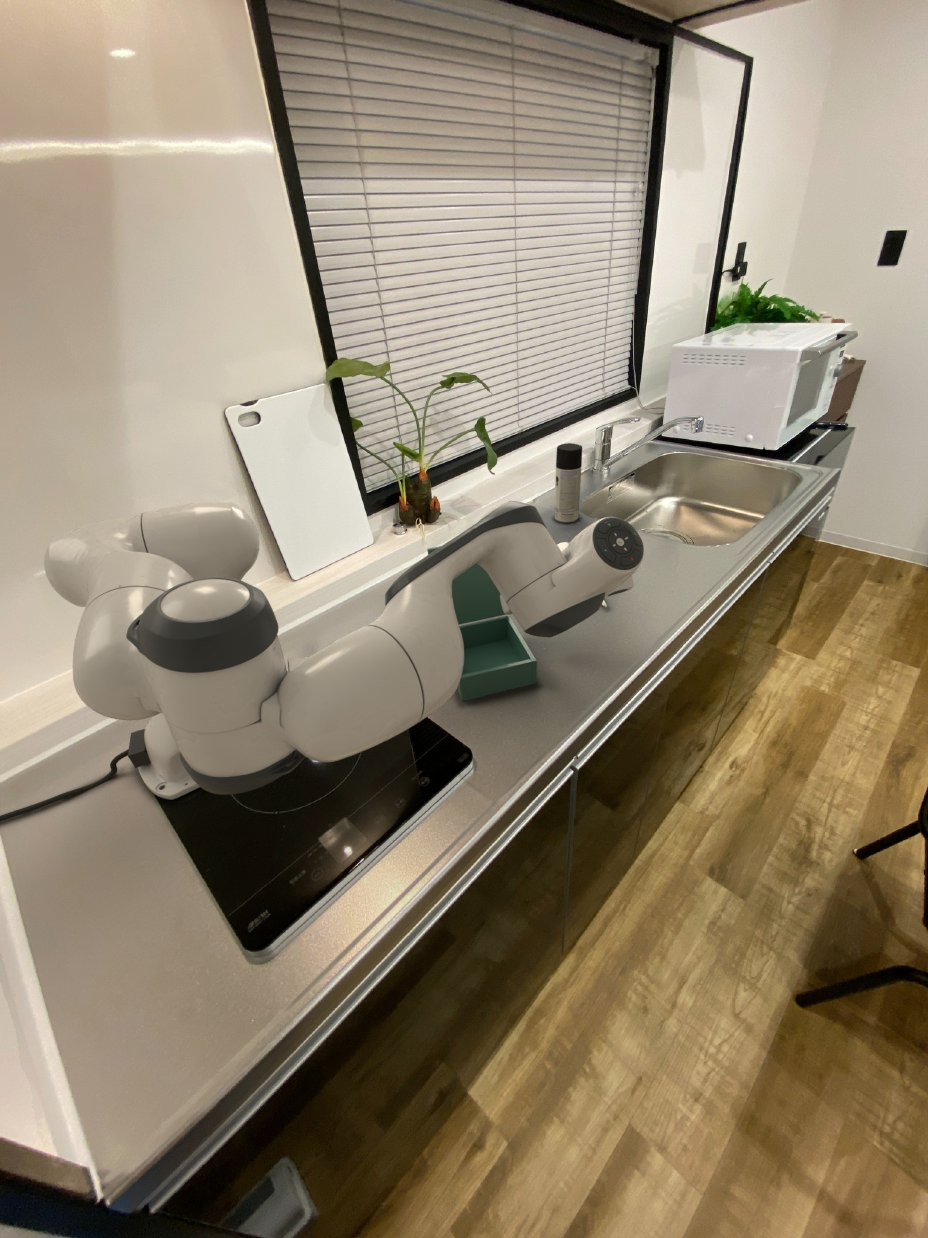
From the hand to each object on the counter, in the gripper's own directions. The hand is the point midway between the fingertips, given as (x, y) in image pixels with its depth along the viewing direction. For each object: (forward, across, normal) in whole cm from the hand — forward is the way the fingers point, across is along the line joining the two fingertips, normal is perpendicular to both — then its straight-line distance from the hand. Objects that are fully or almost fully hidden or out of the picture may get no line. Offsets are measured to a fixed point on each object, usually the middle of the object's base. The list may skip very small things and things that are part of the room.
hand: (550, 600), depth 93 cm
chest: (+9, -12, -8) cm, 17 cm away
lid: (+5, -12, +7) cm, 15 cm away
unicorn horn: (+25, +17, +7) cm, 31 cm away
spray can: (+48, +28, +30) cm, 63 cm away
